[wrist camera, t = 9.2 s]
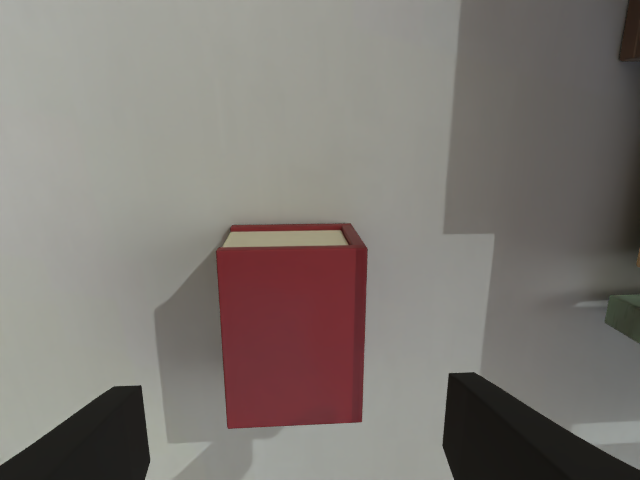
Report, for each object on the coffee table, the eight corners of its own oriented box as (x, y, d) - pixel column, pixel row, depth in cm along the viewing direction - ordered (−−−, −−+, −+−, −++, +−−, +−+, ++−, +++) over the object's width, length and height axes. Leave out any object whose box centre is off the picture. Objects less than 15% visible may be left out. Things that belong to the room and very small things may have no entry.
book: (348, 366, 17) (362, 422, 14) (239, 370, 17) (227, 429, 13) (350, 223, 15) (368, 247, 12) (231, 224, 15) (215, 250, 12)
